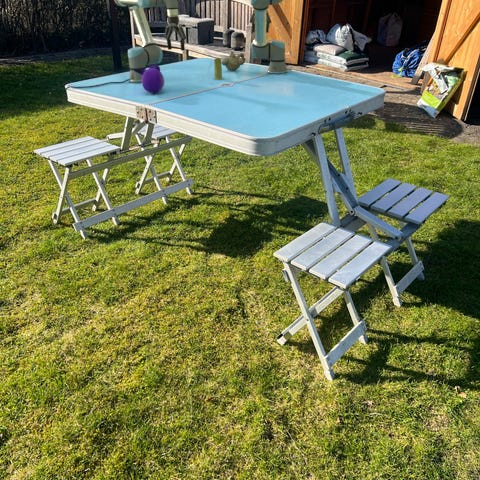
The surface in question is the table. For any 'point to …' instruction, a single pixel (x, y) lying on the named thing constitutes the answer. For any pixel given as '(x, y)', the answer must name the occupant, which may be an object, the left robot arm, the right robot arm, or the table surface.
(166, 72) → the table surface
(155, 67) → the toy
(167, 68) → the table surface
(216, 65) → the olive green upright cylinder
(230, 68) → the teapot
